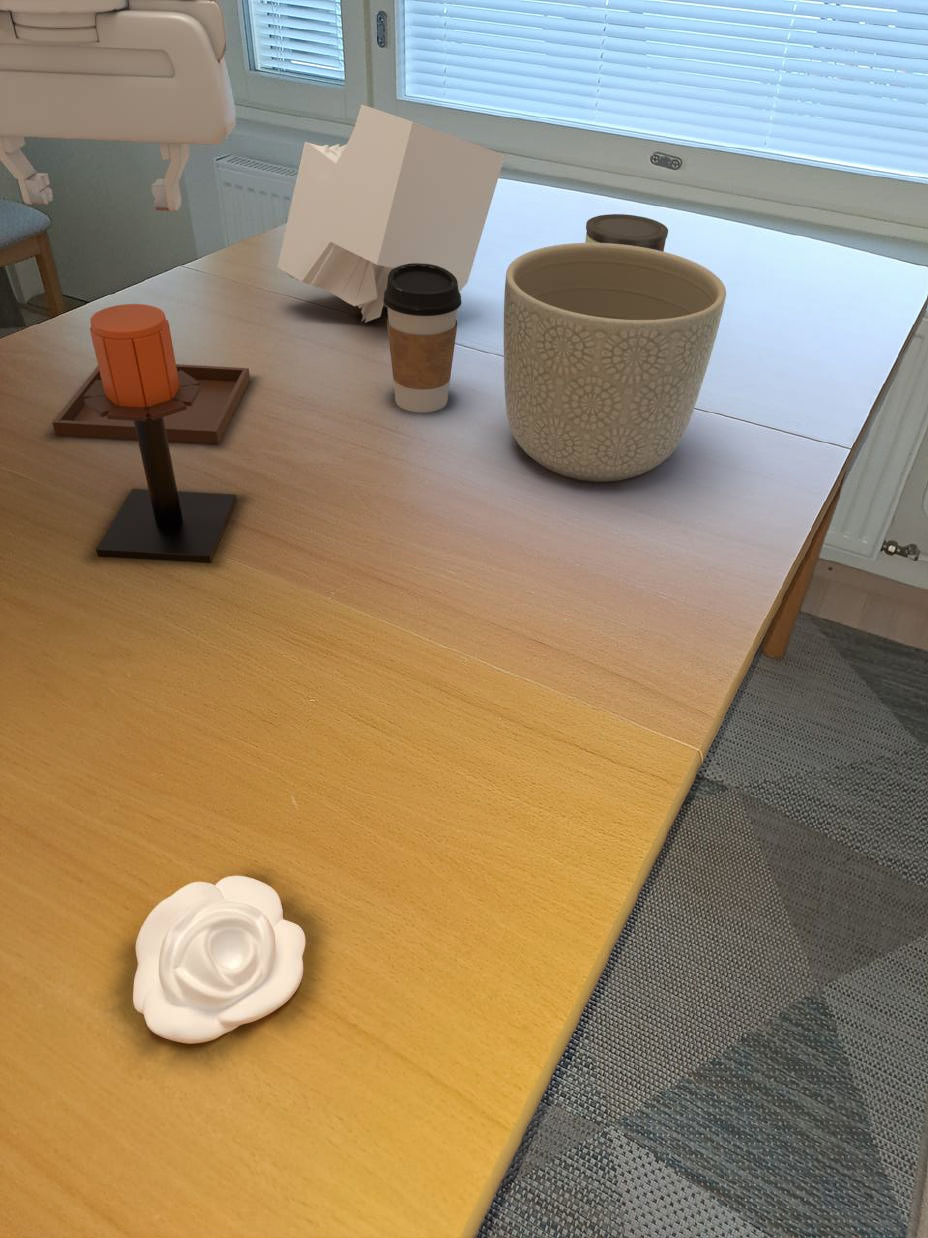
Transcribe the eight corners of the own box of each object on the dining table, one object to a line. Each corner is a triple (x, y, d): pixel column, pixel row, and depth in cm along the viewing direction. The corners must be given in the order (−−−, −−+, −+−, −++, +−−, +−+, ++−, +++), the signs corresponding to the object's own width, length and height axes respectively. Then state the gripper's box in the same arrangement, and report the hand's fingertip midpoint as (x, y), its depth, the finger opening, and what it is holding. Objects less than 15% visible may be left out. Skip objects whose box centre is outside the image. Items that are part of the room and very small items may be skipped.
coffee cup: (442, 385, 110) (446, 258, 100) (468, 417, 104) (474, 286, 94) (375, 394, 108) (372, 265, 98) (398, 428, 102) (397, 294, 92)
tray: (57, 441, 96) (51, 422, 95) (106, 378, 108) (102, 359, 107) (219, 450, 96) (216, 431, 95) (251, 386, 108) (248, 367, 106)
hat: (71, 417, 72) (49, 337, 68) (108, 368, 79) (91, 293, 75) (181, 423, 72) (167, 343, 68) (210, 374, 79) (198, 299, 75)
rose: (165, 836, 54) (324, 864, 53) (177, 879, 57) (329, 906, 56) (82, 995, 46) (266, 1032, 45) (101, 1036, 49) (274, 1071, 48)
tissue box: (267, 289, 124) (308, 86, 113) (358, 303, 135) (403, 120, 125) (356, 340, 113) (411, 121, 102) (447, 351, 124) (505, 154, 113)
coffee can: (665, 338, 123) (685, 230, 114) (609, 355, 118) (626, 244, 109) (612, 313, 130) (628, 208, 120) (557, 328, 125) (569, 220, 116)
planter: (454, 443, 99) (461, 267, 87) (587, 392, 110) (610, 229, 98) (592, 531, 88) (622, 341, 75) (726, 465, 98) (772, 289, 86)
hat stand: (99, 563, 81) (40, 347, 68) (135, 501, 88) (88, 297, 76) (212, 569, 81) (174, 355, 68) (238, 507, 88) (209, 303, 75)
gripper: (232, -27, 59) (256, 199, 68) (-80, -40, 60) (-15, 186, 69) (207, -16, 55) (237, 225, 63) (-132, -30, 55) (-55, 212, 64)
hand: (104, 205), depth 66 cm, fingers open, 8 cm apart
